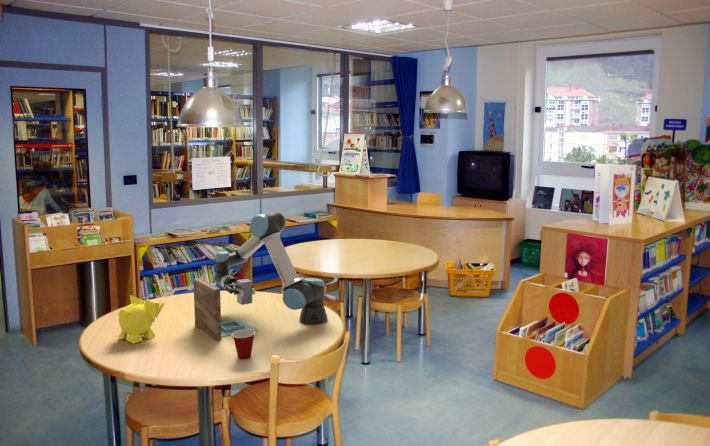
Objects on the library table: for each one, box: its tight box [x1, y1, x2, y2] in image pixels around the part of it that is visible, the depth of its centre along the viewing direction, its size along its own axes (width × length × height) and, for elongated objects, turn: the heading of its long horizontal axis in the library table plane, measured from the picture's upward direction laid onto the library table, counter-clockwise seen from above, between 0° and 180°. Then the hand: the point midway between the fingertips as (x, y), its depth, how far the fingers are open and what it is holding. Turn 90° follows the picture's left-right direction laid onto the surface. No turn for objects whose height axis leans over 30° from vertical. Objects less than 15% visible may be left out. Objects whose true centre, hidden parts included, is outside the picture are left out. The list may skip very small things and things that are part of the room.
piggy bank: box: [117, 294, 166, 345], centre depth 305 cm, size 20×20×19 cm
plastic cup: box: [230, 329, 256, 360], centre depth 280 cm, size 11×11×12 cm
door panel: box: [192, 277, 223, 341], centre depth 311 cm, size 4×26×26 cm, turn 37°
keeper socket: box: [221, 318, 257, 338], centre depth 321 cm, size 20×20×2 cm
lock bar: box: [236, 278, 253, 306], centre depth 324 cm, size 6×6×12 cm
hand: (248, 292), depth 320 cm, fingers closed on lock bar, 6 cm apart
